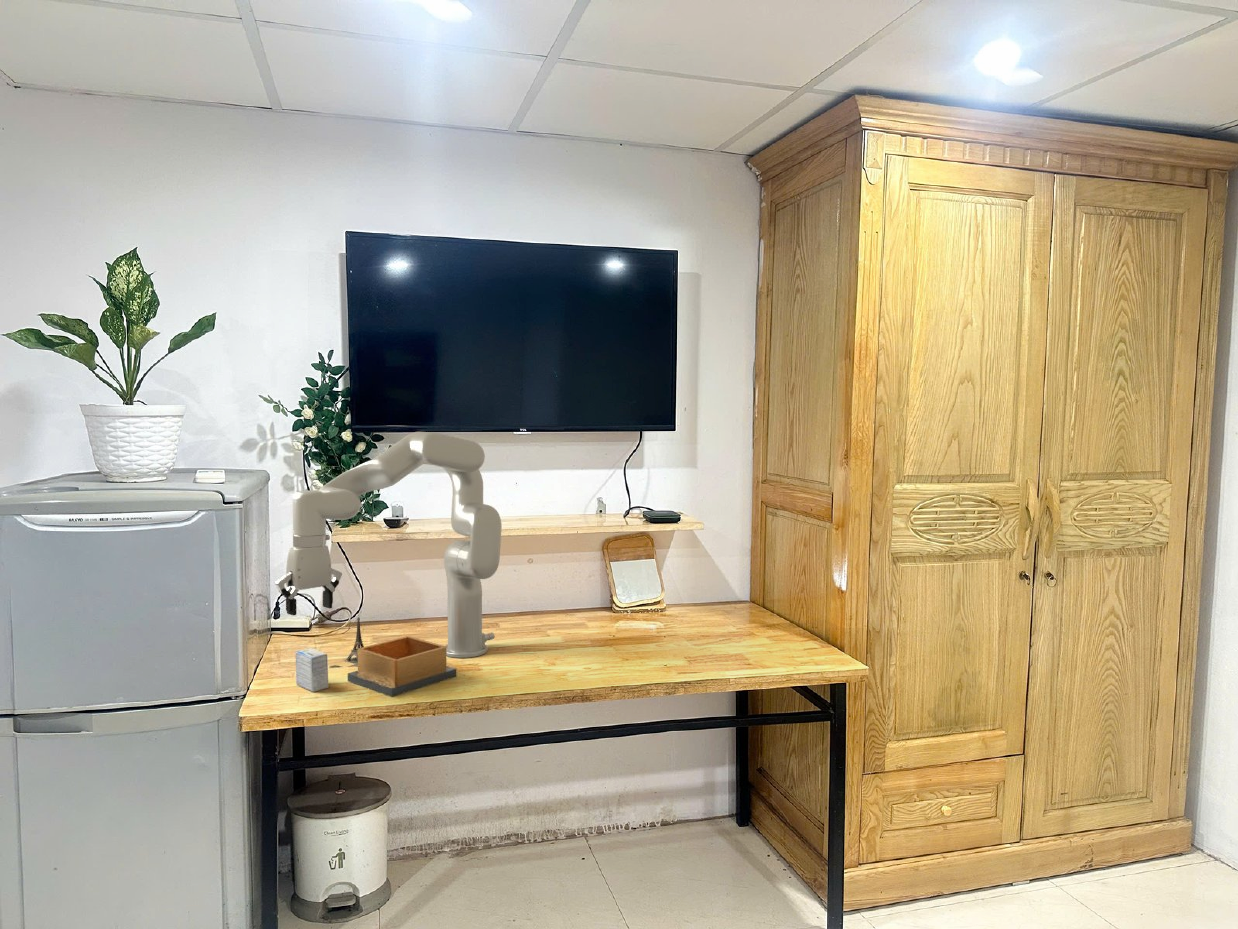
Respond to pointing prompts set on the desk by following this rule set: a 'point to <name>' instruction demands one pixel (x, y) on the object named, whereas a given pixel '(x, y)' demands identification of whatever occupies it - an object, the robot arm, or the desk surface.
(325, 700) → the desk surface
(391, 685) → the brown open box
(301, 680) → the medicine box
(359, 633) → the eiffel tower figurine
